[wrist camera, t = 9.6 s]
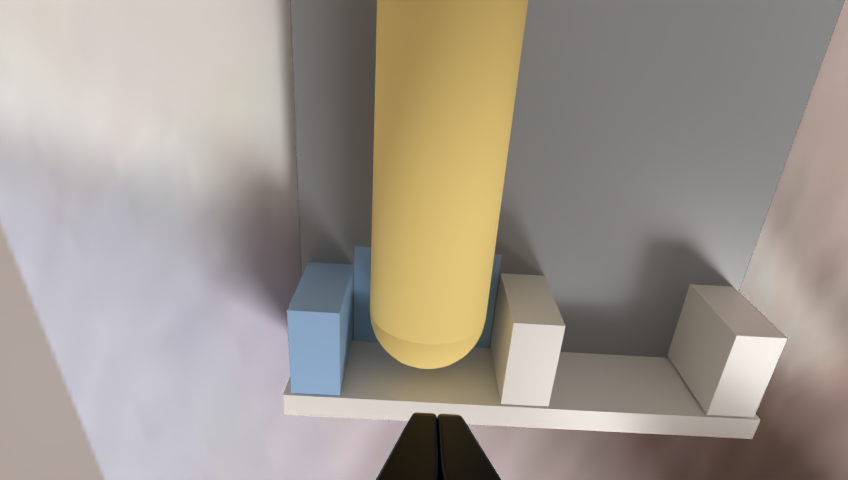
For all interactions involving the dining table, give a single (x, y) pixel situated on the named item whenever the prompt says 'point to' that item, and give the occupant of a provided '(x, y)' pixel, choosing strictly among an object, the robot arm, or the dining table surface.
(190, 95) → the dining table surface
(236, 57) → the dining table surface
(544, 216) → the capsule display stand
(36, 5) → the dining table surface
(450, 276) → the yellow pill shape
